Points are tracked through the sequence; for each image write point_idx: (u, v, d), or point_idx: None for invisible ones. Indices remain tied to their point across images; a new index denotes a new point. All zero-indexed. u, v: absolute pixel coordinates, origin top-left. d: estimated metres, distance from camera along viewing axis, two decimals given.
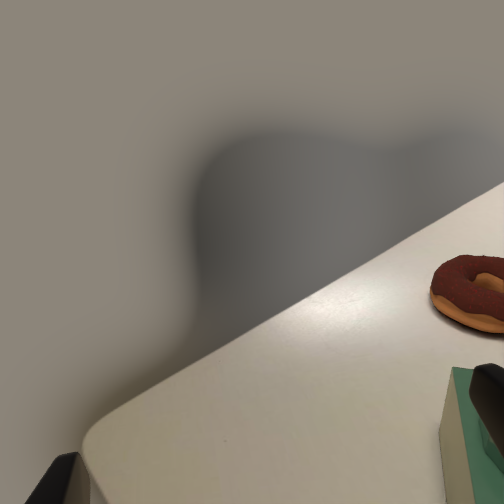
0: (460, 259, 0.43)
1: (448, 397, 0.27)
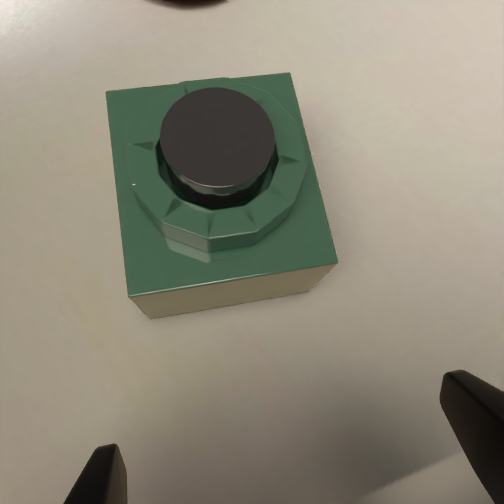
0: None
1: None
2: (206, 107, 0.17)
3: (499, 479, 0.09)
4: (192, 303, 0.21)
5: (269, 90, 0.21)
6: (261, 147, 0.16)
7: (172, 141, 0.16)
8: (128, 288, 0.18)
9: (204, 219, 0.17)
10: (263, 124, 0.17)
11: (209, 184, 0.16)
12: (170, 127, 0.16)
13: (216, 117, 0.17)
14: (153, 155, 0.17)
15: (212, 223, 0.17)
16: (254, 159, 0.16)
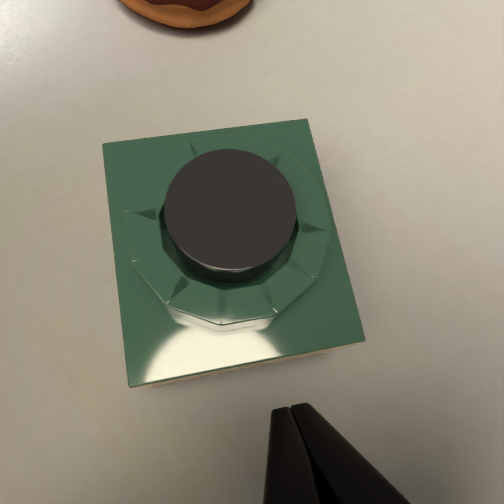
0: None
1: None
2: (217, 173, 0.15)
3: None
4: (200, 376, 0.19)
5: (284, 139, 0.19)
6: (281, 220, 0.14)
7: (178, 215, 0.14)
8: (128, 376, 0.15)
9: (215, 301, 0.15)
10: (282, 192, 0.15)
11: (222, 266, 0.14)
12: (176, 198, 0.14)
13: (229, 185, 0.15)
14: (156, 225, 0.15)
15: (224, 306, 0.15)
16: (273, 235, 0.14)
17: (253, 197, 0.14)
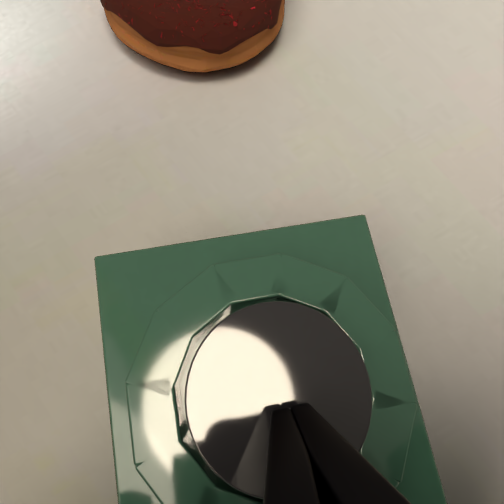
0: None
1: None
2: (259, 341, 0.10)
3: None
4: None
5: (336, 245, 0.14)
6: (351, 414, 0.10)
7: (205, 411, 0.10)
8: None
9: None
10: (352, 368, 0.10)
11: None
12: (201, 384, 0.10)
13: (276, 359, 0.10)
14: (170, 405, 0.11)
15: None
16: None
17: (311, 378, 0.10)
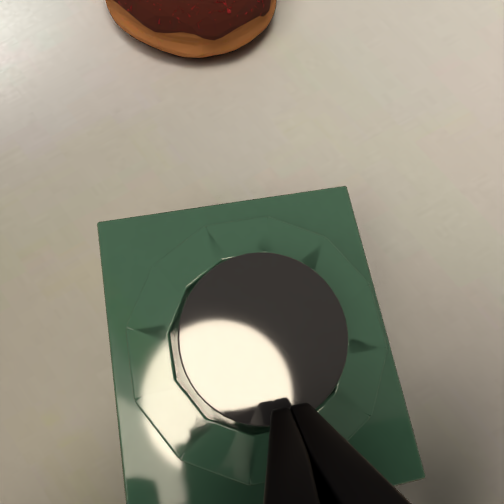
0: None
1: None
2: (245, 287, 0.11)
3: None
4: None
5: (320, 214, 0.15)
6: (329, 352, 0.11)
7: (196, 348, 0.11)
8: None
9: (243, 452, 0.11)
10: (330, 312, 0.11)
11: (254, 420, 0.10)
12: (193, 324, 0.11)
13: (261, 303, 0.11)
14: (166, 347, 0.12)
15: (255, 458, 0.11)
16: (320, 373, 0.11)
17: (293, 320, 0.11)
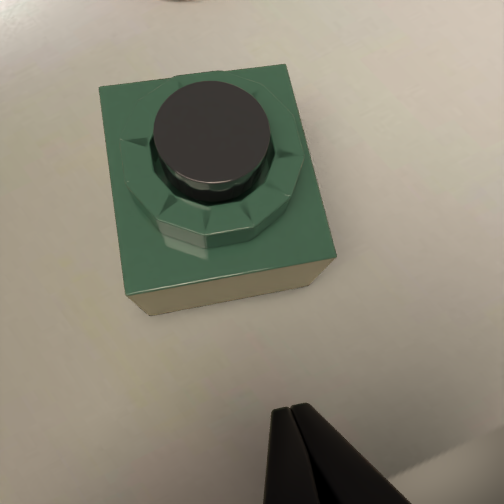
0: None
1: None
2: (200, 101, 0.16)
3: None
4: (191, 299, 0.21)
5: (264, 82, 0.21)
6: (256, 141, 0.16)
7: (166, 137, 0.16)
8: (125, 286, 0.17)
9: (200, 215, 0.17)
10: (258, 117, 0.16)
11: (204, 179, 0.16)
12: (163, 122, 0.16)
13: (210, 111, 0.16)
14: (147, 151, 0.17)
15: (208, 219, 0.17)
16: (249, 153, 0.16)
17: (232, 122, 0.16)
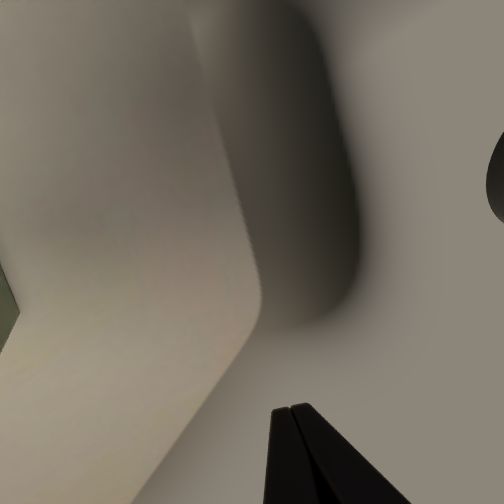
0: None
1: None
2: None
3: None
4: None
5: None
6: None
7: None
8: None
9: None
10: None
11: None
12: None
13: None
14: None
15: None
16: None
17: None
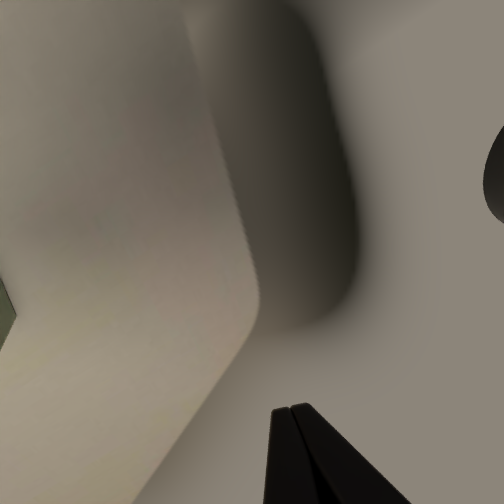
0: None
1: None
2: None
3: None
4: None
5: None
6: None
7: None
8: None
9: None
10: None
11: None
12: None
13: None
14: None
15: None
16: None
17: None
